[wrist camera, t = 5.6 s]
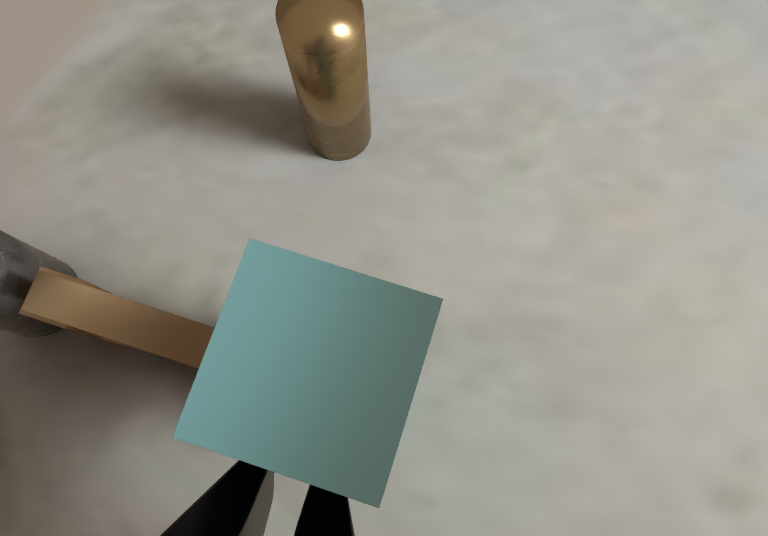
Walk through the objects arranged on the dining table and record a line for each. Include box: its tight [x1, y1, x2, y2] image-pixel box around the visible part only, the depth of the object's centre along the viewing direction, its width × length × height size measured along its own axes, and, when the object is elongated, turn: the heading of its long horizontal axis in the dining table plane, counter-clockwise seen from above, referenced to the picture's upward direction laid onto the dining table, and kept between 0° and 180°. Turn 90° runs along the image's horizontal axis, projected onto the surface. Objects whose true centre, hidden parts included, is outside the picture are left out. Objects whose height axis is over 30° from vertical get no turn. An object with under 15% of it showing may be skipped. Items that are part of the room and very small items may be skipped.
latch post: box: [276, 0, 371, 161], centre depth 17 cm, size 2×2×6 cm
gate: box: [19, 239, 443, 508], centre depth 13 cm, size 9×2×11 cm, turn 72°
